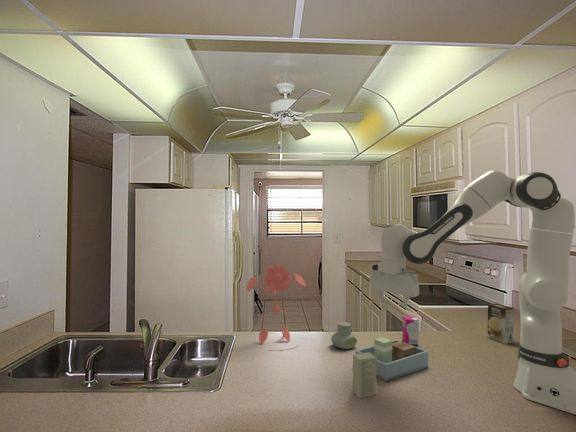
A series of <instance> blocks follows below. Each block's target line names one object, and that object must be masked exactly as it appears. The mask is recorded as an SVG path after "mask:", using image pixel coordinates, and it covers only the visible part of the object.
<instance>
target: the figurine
mask: <svg viewBox="0 0 576 432" xmlns="http://www.w3.org/2000/svg"><path fill="white" fill-rule="evenodd" d="M266 272H267V273H265V274H264V275H263V279H264V281H263V286H264V287H269V288H267V289H264V288H263V286H262V285H261V284H260V283H259V282H258V280H257V278H256V276H253V277H251V278H250V279H249V280H248V281H247V284H246V289H247V292H250V291H251V290H252V289H254V288H255V286H256V283H257V285H258V286H259V287H260V288H261V290H262V291H263V292H267V291H270V292H271V293H273V299H274V304H275V306H273V308H272V309H271V310H270V311H268V312H264V313H263V314H262V317H263V319H262V320H263V322H265V315H266V314H269V313H271V312H273V311H274V312H275V313H277V312H282V313H284V314H285V316H287V312H286V311H283V310H281V309H280V307H279V306H278V304H277V301H276V292H279V293H281V292H282V290H289V288H290V287H291V284H292V283H293V281H294V279H295V281H296V282H297V283H298V284H299V285H301V286H303V287H304V288H306V287H307V286H306V283H305V282H306V281H305V280H304V278H303V277H302V276H301V275H300V274H298V273H296V272H294V273H293V276H291V275H290V272H291V270H290V269H286V266H285V264H284V263H281V264H280V265H277V264H273V266H267V267H266ZM288 282H289V283H288ZM284 318H285V319H284V320H285V321H284V326H283V327H282V329H281V331H282V333H281V334H282V337H281V338H282V339H285V340H286V341H287V342H290V341H291V340H290V339H291V333H290V331H289V329H288V328H287V327H286V326H287V317H284ZM265 324H266V323H263V328H261V330H259V333H258V340H259V342H260V344H264V343H265V341H266V340H267V339H268V336H269V330H268V328H266V327H265ZM297 347H298V345H296V346H295V347H292V348H287V349H286V351H288V350H291V349H295V348H297ZM269 351H271V352H273V351H274V352H276V351H279V352H283V349H281V350H280V349H277V350H276V349H275V350H272V349H269Z"/></svg>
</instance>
